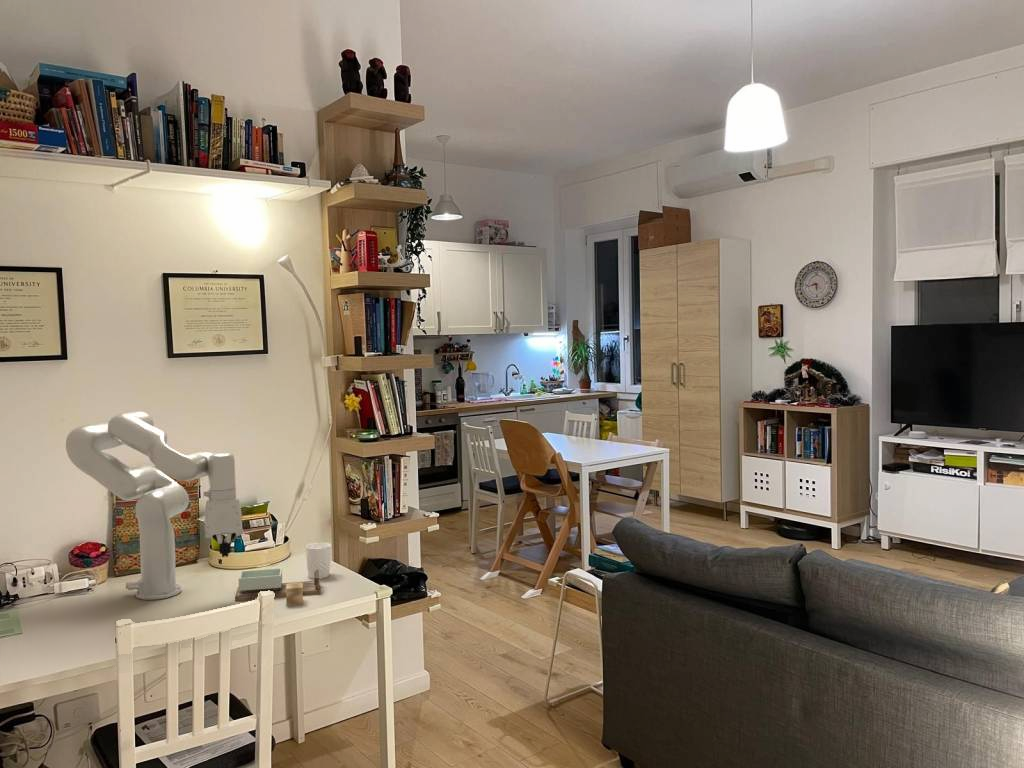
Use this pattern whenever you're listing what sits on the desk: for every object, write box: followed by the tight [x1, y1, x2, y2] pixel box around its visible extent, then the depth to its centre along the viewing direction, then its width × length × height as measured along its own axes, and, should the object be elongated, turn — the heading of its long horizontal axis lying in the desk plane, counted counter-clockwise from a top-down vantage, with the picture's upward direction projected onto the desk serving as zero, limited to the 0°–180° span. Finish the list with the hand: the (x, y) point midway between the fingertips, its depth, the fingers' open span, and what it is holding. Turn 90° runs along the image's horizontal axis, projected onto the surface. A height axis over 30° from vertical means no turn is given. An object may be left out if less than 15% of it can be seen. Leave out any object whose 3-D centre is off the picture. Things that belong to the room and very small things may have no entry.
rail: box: [234, 569, 320, 602], centre depth 234 cm, size 24×10×5 cm, turn 104°
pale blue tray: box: [238, 567, 283, 594], centre depth 233 cm, size 12×8×5 cm, turn 104°
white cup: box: [305, 542, 332, 580], centre depth 251 cm, size 8×8×10 cm
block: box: [285, 583, 304, 607], centre depth 225 cm, size 4×4×5 cm
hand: (225, 555), depth 230 cm, fingers closed
